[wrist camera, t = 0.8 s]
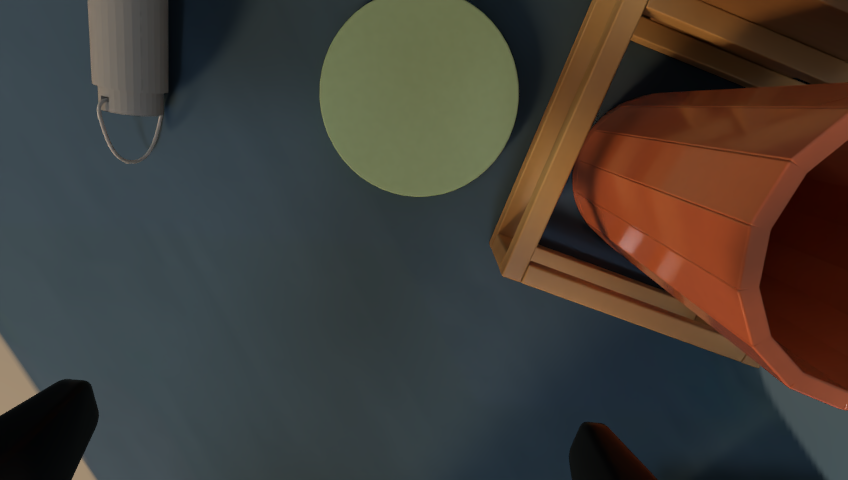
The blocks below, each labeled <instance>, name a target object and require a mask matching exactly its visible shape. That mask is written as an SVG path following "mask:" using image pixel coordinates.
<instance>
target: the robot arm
mask: <svg viewBox="0 0 848 480" xmlns="http://www.w3.org/2000/svg"><path fill="white" fill-rule="evenodd" d="M98 418H99V412H98V408H97V404H96V401H95V397H94V393H93V390H92V386H91V384H90V383H89V382H88V381H84V380H72V379H64V380H61V381H58V382H56V383H55V384H53V385H51V386H50V387H48V388H46V389H45V390H43V391H41V392H39V393H38V394H36V395H34V396H33V397H31V398H29V399H28V400H26V401H24V402H23V403H21V404H19V405H18V406H16V407H14V408H12V409H11V410H9V411H8V412H6V413H4V414H2V415H1V416H0V480H72V477H73V475H74V473H75V471H76V469H77V466H78V464H79V462H80V460H81V458H82V456H83V454H84V452H85V449H86V447H87V445H88V443H89V441H90V439H91V437H92V434H93V432H94V430H95V428H96V426H97V422H98ZM569 462H570V469H571V476H572V480H658V479H657V478H656V477H655V476H654V475H653V474H652V473H651V472H650V471H649V470H648V469H647V468H646V467H645V466H644V465H643V464H642V463H641V461H640V460H639V459H638V458H637V457H636V456H635V455H634V454H633V453H632V452H631V451H630V450H629V449H628V448H627V447H626V446H625V445H624V443H623V442H622V441H621V440H620V439H619V438H618V437H617V436H616V435H615V434H614V433H613V432H612V431H611V430H610V429H609V428H608V427H607V426H606V425H604V424H602V423H593V422H584V423H582V424H581V426H580V427H579V430H578V432H577V434H576V437H575V439H574V441H573V444H572V446H571V448H570V453H569Z"/></svg>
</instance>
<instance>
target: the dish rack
mask: <svg viewBox="0 0 848 480" xmlns="http://www.w3.org/2000/svg"><path fill="white" fill-rule="evenodd" d="M630 40H631V41H634V42H636V43H638V44H641V45H643V46H646V47H648V48H651V49H653V50H656V51H658V52H660V53H663V54H665V55H668V56H670V57H673V58H675V59H677V60H680V61H682V62H685V63H687V64H690V65H692V66H695V67H697V68H699V69H702V70H704V71H707V72H709V73H712V74H714V75H717V76H719V77H721V78H724V79H726V80H729V81H731V82H734V83H736V84H739V85H741V86H743V87H746V88H756V87H774V86H791V85H807V84H804V83H802V82H800V81H797V80H795V79H792V78H798V79H801V80H803V81H806V82H808V83H810V84H827V83H845V82H848V0H592V2H591V4H590V6H589V9H588V11H587V13H586V16H585V18H584V21H583V23H582V25H581V28H580V30H579V32H578V35H577V37H576V39H575V42H574V44H573V46H572V49H571V51H570V54H569V56H568V58H567V61H566V63H565V65H564V68H563V70H562V72H561V75H560V77H559V79H558V82H557V84H556V87H555V89H554V91H553V94H552V96H551V98H550V101H549V103H548V105H547V108H546V110H545V112H544V115H543V117H542V120H541V122H540V124H539V127H538V129H537V131H536V134H535V136H534V138H533V141H532V143H531V145H530V148H529V150H528V153H527V155H526V157H525V160H524V162H523V164H522V167H521V169H520V171H519V174H518V176H517V178H516V181H515V183H514V186H513V188H512V190H511V193H510V195H509V197H508V200H507V202H506V204H505V207H504V209H503V211H502V214H501V216H500V219H499V221H498V223H497V226H496V228H495V230H494V233H493V235H492V237H491V240H490V242H489V244H490V247H491V248H492V251H493V254H494V256H495V259H496V261H497V264H498V266H499V268H500V272H501V274H502V276H504V277H506V278H509V279H512V280H515V281H518V282H522V283H523V284H526V285H529V286H532V287H534V288H537V289H540V290H543V291H545V292H548V293H551V294H554V295H556V296H559V297H562V298H565V299H568V300H570V301H573V302H576V303H579V304H581V305H584V306H587V307H590V308H592V309H595V310H598V311H601V312H603V313H606V314H609V315H612V316H615V317H617V318H620V319H623V320H626V321H628V322H631V323H634V324H637V325H639V326H642V327H645V328H648V329H651V330H653V331H656V332H659V333H662V334H664V335H667V336H670V337H673V338H675V339H678V340H681V341H684V342H686V343H689V344H692V345H695V346H698V347H700V348H703V349H706V350H709V351H711V352H714V353H717V354H720V355H722V356H725V357H728V358H731V359H734V360H736V361H741V362H742V363H744V364H747V365H750V366H753V367H755V368H760V365H759V364H758V363H757V362H755V361H754V360H753V359H752V358H750V357H749V356H748V355H747V354H745V353H744V352H743V351H742V350H740V349H739V348H738V347H737V346H735V345H734V344H733V343H732V342H730V341H729V340H728V339H726V338H725V337H724V336H723V335H721V334H720V333H719V332H718V331H716V330H715V329H714V328H713V327H711V326H710V325H709V324H708V323H706V322H705V321H704V320H703V319H701V318H700V317H699V316H698V315H696V314H695V313H694V312H693V311H691V310H690V309H689V308H688V307H686V306H685V305H684V304H683V303H681V302H680V301H679V300H678V299H676V298H675V297H674V296H672V295H671V294H670V293H669V292H666V291H664V290H661V289H658V288H655V287H653V286H650V285H647V284H645V283H642V282H639V281H636V280H634V279H631V278H628V277H626V276H623V275H620V274H617V273H615V272H612V271H609V270H607V269H604V268H601V267H598V266H596V265H593V264H590V263H588V262H585V261H582V260H579V259H577V258H574V257H571V256H569V255H566V254H563V253H561V252H558V251H555V250H552V249H550V248H547V247H544V246H542V245H539V244H538V243H539V241H540V239H541V236H542V234H543V232H544V230H545V228H546V225H547V223H548V221H549V219H550V217H551V214H552V212H553V210H554V208H555V205H556V203H557V201H558V199H559V197H560V194H561V192H562V190H563V188H564V186H565V183H566V181H567V179H568V177H569V175H570V172H571V170H572V168H573V166H574V164H575V161H576V159H577V157H578V155H579V153H580V150H581V148H582V146H583V144H584V141H585V139H586V137H587V135H588V133H589V130H590V128H591V126H592V124H593V122H594V119H595V117H596V115H597V113H598V111H599V108H600V106H601V104H602V102H603V100H604V97H605V95H606V93H607V91H608V88H609V86H610V84H611V82H612V80H613V77H614V75H615V73H616V71H617V69H618V66H619V64H620V62H621V60H622V58H623V55H624V53H625V51H626V49H627V47H628V44H629V42H630Z"/></svg>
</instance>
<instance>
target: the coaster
mask: <svg viewBox="0 0 848 480" xmlns="http://www.w3.org/2000/svg"><path fill="white" fill-rule="evenodd" d="M518 103H519V83H518V75H517V70H516V66H515V62H514V58H513V56H512V53H511V51H510V49H509V46H508V44H507V42H506V41H505V39H504V37H503V36H502V34H501V32H500V31H499V30H498V28H497V27H496V26H495V25H494V23H493V22H492V21H491V20H490V19H489V18H488V17H487V16H486V15H485V14H484V13H483V12H482V11H480V10H479V9H478V8H476V7H475V6H474V5H472V4H471V3H469V2H467V1H465V0H373V1H371V2H369V3H368V4H366V5H365V6H363V7H362V8H361V9H359V10H358V11H357V12H355V13H354V14H353V15H352V16H351V17H350V18H349V19H348V20H347V21H346V22H345V24H344V25H343V26H342V28H341V29H340V30H339V31H338V33H337V35H336V36H335V38H334V40H333V41H332V43H331V45H330V47H329V50H328V52H327V55H326V57H325V60H324V64H323V68H322V72H321V79H320V105H321V112H322V117H323V121H324V125H325V127H326V130H327V133H328V135H329V138H330V139H331V141H332V143H333V145H334V147H335V149H336V150H337V152H338V153H339V155H340V156H341V157H342V159H343V160H344V161H345V162H346V163H347V164H348V166H349V167H350V168H351V169H352V170H354V171H355V172H356V173H357V174H358V175H359V176H360V177H362V178H363V179H365V180H366V181H368V182H369V183H371V184H373V185H375V186H377V187H379V188H381V189H383V190H386V191H389V192H392V193H395V194H400V195H405V196H416V197H422V196H434V195H439V194H444V193H447V192H450V191H453V190H456V189H458V188H460V187H462V186H464V185H466V184H468V183H470V182H471V181H473V180H474V179H476V178H477V177H478V176H480V175H481V174H482V173H483V172H484V171H486V170H487V169H488V168H489V167H490V165H491V164H492V163H493V162H494V161H495V160H496V159H497V157H498V156H499V154H500V153H501V152H502V150H503V149H504V147H505V145H506V143H507V141H508V139H509V137H510V135H511V132H512V130H513V127H514V124H515V120H516V116H517V111H518Z"/></svg>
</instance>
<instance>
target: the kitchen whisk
mask: <svg viewBox="0 0 848 480" xmlns="http://www.w3.org/2000/svg"><path fill="white" fill-rule="evenodd" d="M88 16H89V35H90V54H91V73H92V84H94V85H97V86H98V101H99V103H98V106H97V115H98V119H99V122H100V125H101V128H102V131H103V134H104V137H105V139H106V142H107V144H108V146H109V148H110V149H111V151H112V152H113V154H114V155H115V156H116V157H117V158H118V159H119V160H121V161H123V162H125V163H138V162H141V161H143V160H144V159H145V158H147V157H148V156H149V154H150V153H151V151H152V150H153V148H154V146H155V143H156V141H157V138H158V135H159V131H160V127H161V123H162V118H163V114H164V101H163V93H168V0H88ZM101 110H104V111H107V112H112V113H118V114H125V115H134V116H159V120H158V125H157V129H156V133H155V136H154V139H153V142H152V144H151V146H150V148H149V150H148V151H147V153H146V154H145V155H144V156H143V157H141V158H139V159H137V160H126V159H124V158H122V157H121V156H120V155H119V154H118V153H117V152H116V151H115V149H114V148H113V146H112V144H111V142H110V139H109V137H108V134H107V131H106V128H105V125H104V122H103V119H102V115H101Z"/></svg>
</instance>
